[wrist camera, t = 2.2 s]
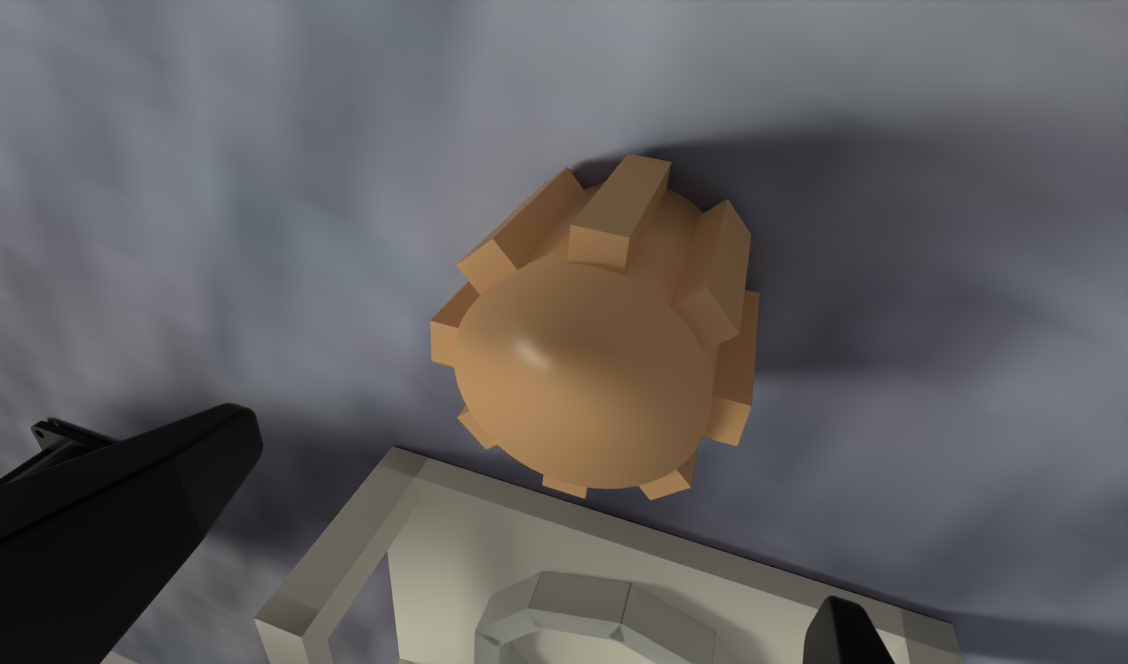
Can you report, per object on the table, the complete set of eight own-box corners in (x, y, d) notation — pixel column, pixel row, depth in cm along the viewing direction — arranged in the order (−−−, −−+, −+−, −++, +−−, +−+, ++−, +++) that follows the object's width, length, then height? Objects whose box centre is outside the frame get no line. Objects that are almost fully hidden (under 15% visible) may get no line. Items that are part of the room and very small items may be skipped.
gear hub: (510, 345, 18) (428, 460, 13) (522, 129, 14) (416, 198, 10) (723, 401, 16) (702, 548, 12) (794, 180, 13) (799, 283, 9)
